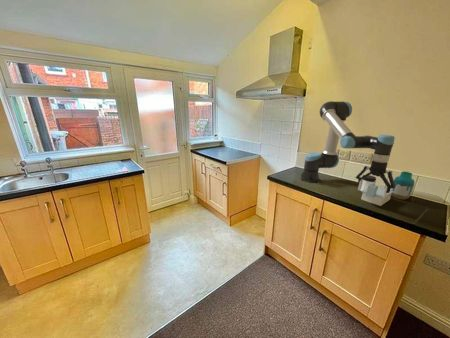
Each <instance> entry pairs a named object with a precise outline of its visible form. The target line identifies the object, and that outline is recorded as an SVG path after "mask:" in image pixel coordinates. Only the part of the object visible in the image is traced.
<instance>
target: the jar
mask: <svg viewBox="0 0 450 338" xmlns="http://www.w3.org/2000/svg"><path fill="white" fill-rule="evenodd" d="M364 175H365V174H362V176H364ZM362 180H363V183H362V187H361V189H360V190H359V191H360V192H361V191H362V190H364V189H366V188H368V185H370V184H372V185H376V181H377V176H374V175H372V174H370V175H369V176H367V177H365V178H363V179H362Z"/></svg>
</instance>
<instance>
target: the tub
mask: <svg viewBox="0 0 450 338" xmlns="http://www.w3.org/2000/svg"><path fill="white" fill-rule="evenodd" d="M391 194H392V193H391ZM391 194H390V195H388V196H387V197H385V198H383V199H382V198H379V197H376V196H375V197H373V198H372V197H369V196H366V193H363V192H362V195H361V198H360V200H362V201H365V202H367V203H370V204H374V205H377V206H379V207H381V206H383V205H384V204H385V203H388V201H390V200H391V198H392V195H391Z"/></svg>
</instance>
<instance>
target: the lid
mask: <svg viewBox="0 0 450 338" xmlns="http://www.w3.org/2000/svg"><path fill="white" fill-rule="evenodd" d="M384 191H385V188H384V187H380V186H379V185H376V184H375V185H372V184H370V185H368V188H366V189H364V190H362V191H361V190H360V192H361V193H362V194H363V193H366V196H369V197H372V198H373V197H375V196H376V197H379V198H382V199H383V195H384ZM393 192H394V191H392V190H391V189H390V192H389V193H387V195H386V197H387V196H388V195H390V194H391V193H393Z"/></svg>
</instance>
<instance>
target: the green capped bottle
mask: <svg viewBox="0 0 450 338" xmlns="http://www.w3.org/2000/svg"><path fill="white" fill-rule="evenodd" d="M412 177H413V173H412V172H410V171H401V173H400V175H399V176H395V178H393V180H394V183H395V186H396V187H395V188H391V189H390V190H392V191H394V192H393V193H392V194H391V197H393V198H394V199H397V200H403V201H405V200H408V199H409V198H410V197H411V195H412V193H413V190H414V187H415V179H414V178H412Z"/></svg>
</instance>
